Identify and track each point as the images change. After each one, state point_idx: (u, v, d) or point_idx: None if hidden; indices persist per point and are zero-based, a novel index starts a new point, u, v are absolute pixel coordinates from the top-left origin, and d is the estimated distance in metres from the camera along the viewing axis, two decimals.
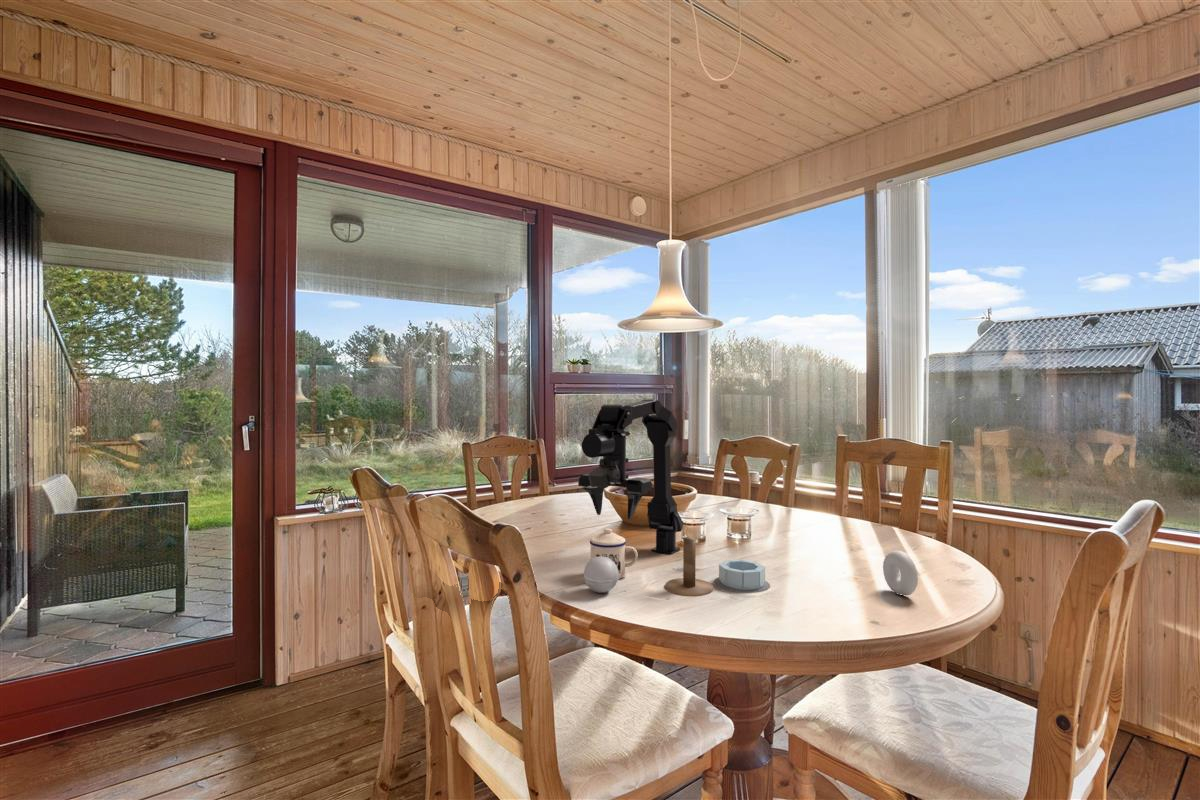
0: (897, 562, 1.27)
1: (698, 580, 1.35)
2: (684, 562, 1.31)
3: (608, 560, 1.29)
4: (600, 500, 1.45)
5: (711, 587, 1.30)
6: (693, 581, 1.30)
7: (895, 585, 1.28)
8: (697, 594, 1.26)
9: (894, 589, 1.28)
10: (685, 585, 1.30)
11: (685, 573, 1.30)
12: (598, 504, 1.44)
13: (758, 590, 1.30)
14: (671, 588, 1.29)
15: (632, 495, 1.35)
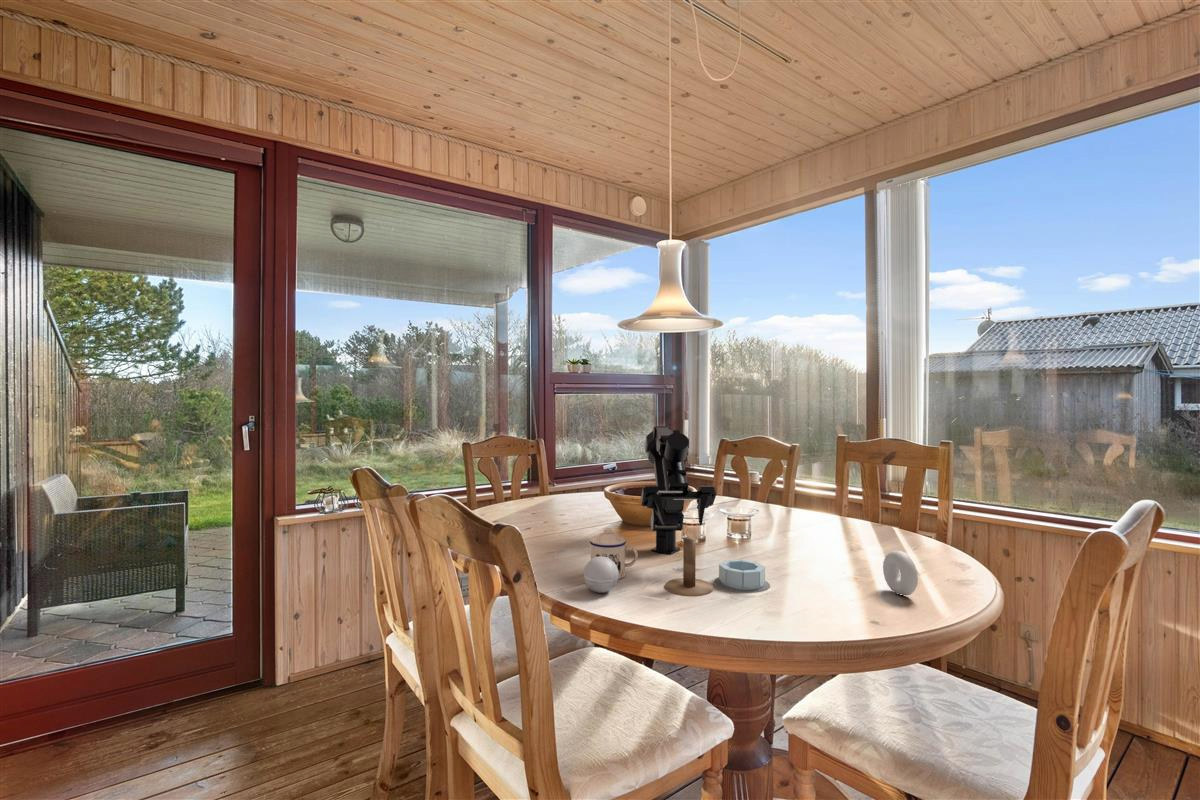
0: (897, 562, 1.27)
1: (698, 580, 1.35)
2: (684, 562, 1.31)
3: (608, 560, 1.29)
4: (699, 510, 1.42)
5: (711, 587, 1.30)
6: (693, 581, 1.30)
7: (895, 585, 1.28)
8: (697, 594, 1.26)
9: (894, 589, 1.28)
10: (685, 585, 1.30)
11: (685, 573, 1.30)
12: (698, 515, 1.42)
13: (758, 590, 1.30)
14: (671, 588, 1.29)
15: None
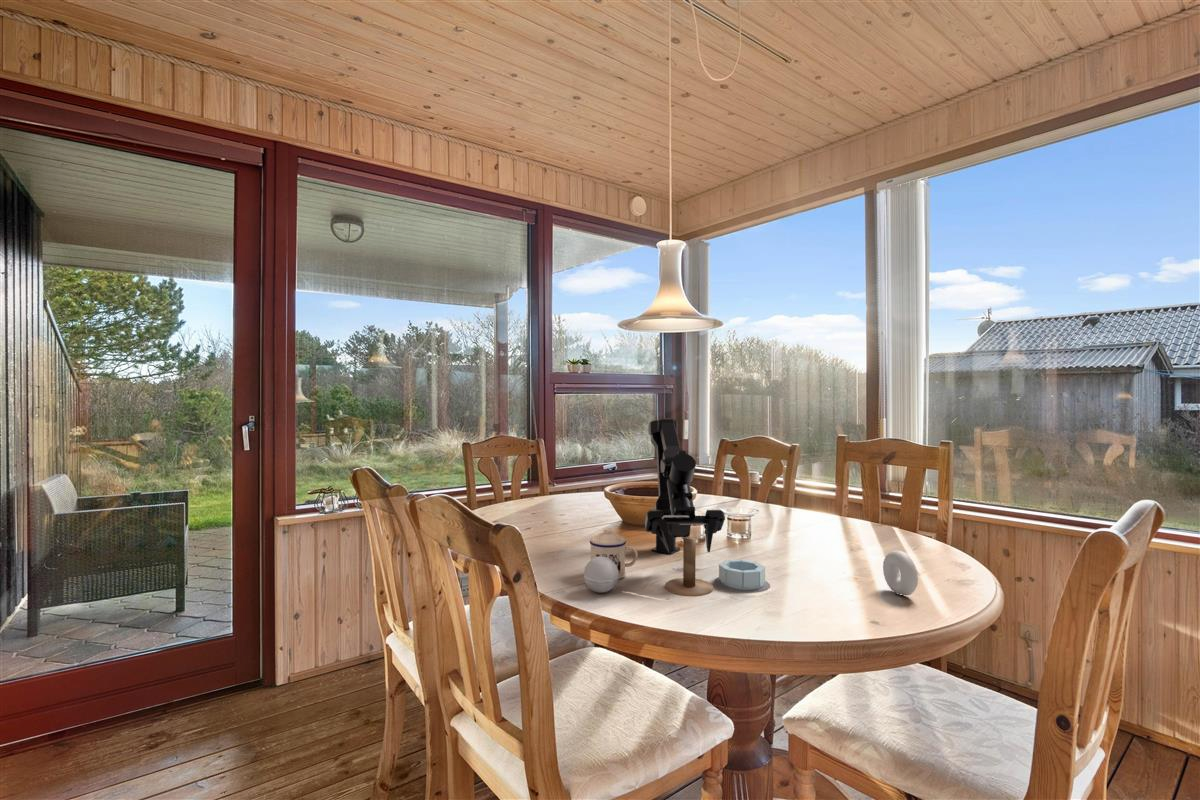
0: (897, 562, 1.27)
1: (698, 580, 1.35)
2: (684, 562, 1.31)
3: (608, 560, 1.29)
4: (707, 536, 1.33)
5: (711, 587, 1.30)
6: (693, 581, 1.30)
7: (895, 585, 1.28)
8: (697, 594, 1.26)
9: (894, 589, 1.28)
10: (685, 585, 1.30)
11: (685, 573, 1.30)
12: (706, 542, 1.34)
13: (758, 590, 1.30)
14: (671, 588, 1.29)
15: None
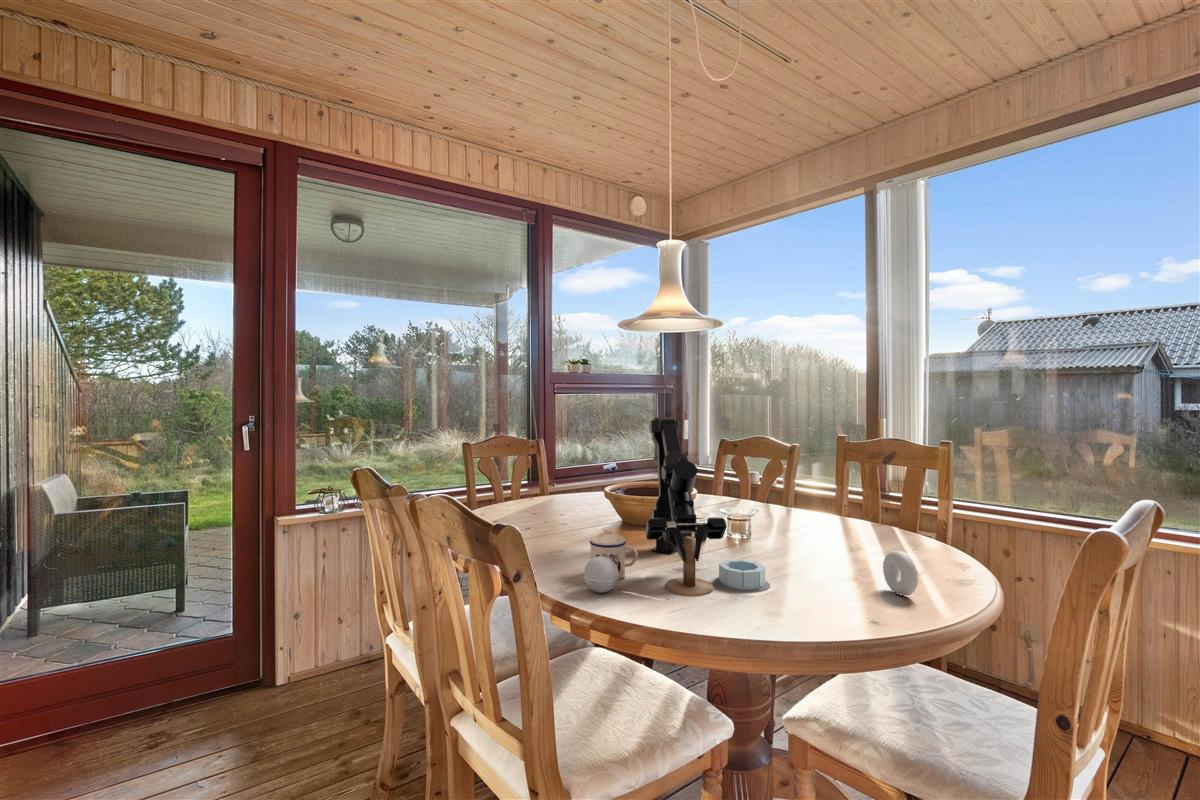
0: (897, 562, 1.27)
1: (698, 579, 1.35)
2: (684, 562, 1.31)
3: (608, 560, 1.29)
4: (696, 544, 1.32)
5: (711, 587, 1.30)
6: (693, 580, 1.30)
7: (895, 585, 1.28)
8: (697, 594, 1.26)
9: (894, 589, 1.28)
10: (685, 585, 1.30)
11: (685, 573, 1.30)
12: None
13: (758, 590, 1.30)
14: (671, 588, 1.29)
15: None
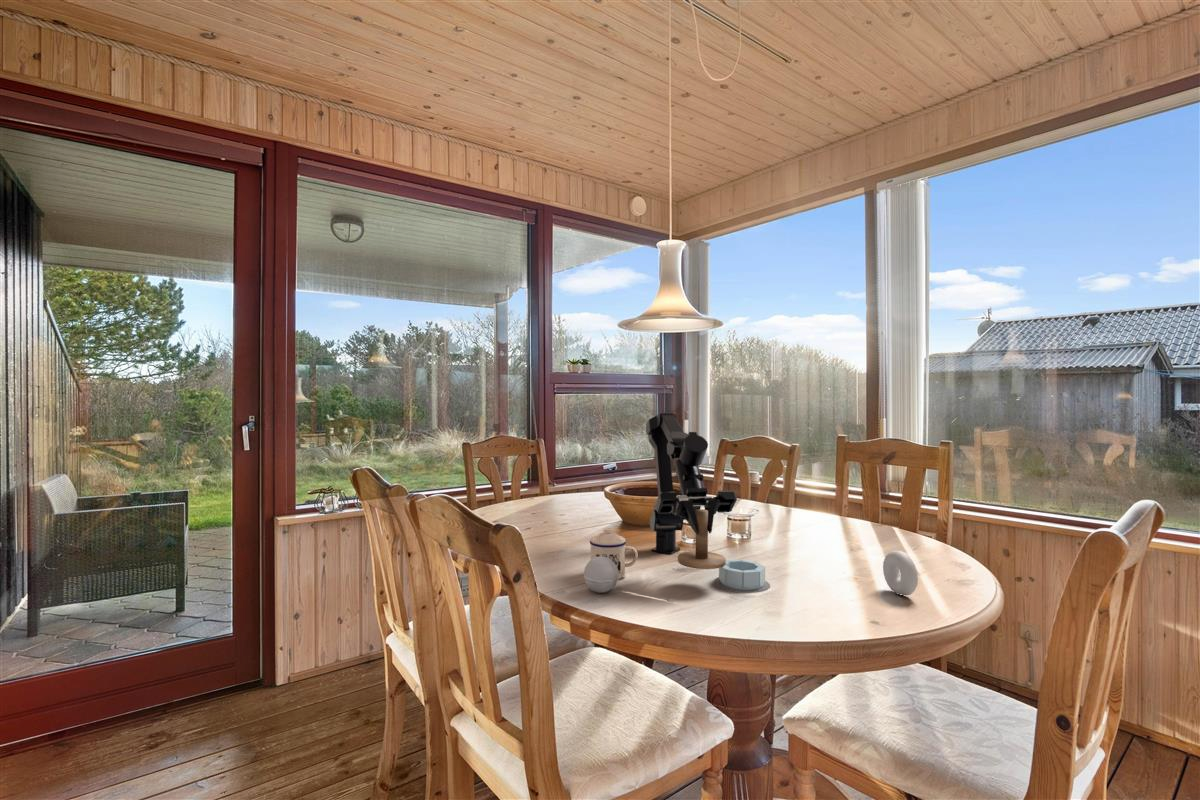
0: (897, 562, 1.27)
1: (708, 552, 1.36)
2: (697, 534, 1.31)
3: (608, 560, 1.29)
4: (708, 517, 1.32)
5: (723, 558, 1.31)
6: (706, 552, 1.31)
7: (895, 585, 1.28)
8: (712, 565, 1.26)
9: (894, 589, 1.28)
10: (698, 557, 1.31)
11: (698, 546, 1.31)
12: None
13: (758, 590, 1.30)
14: (685, 560, 1.29)
15: None
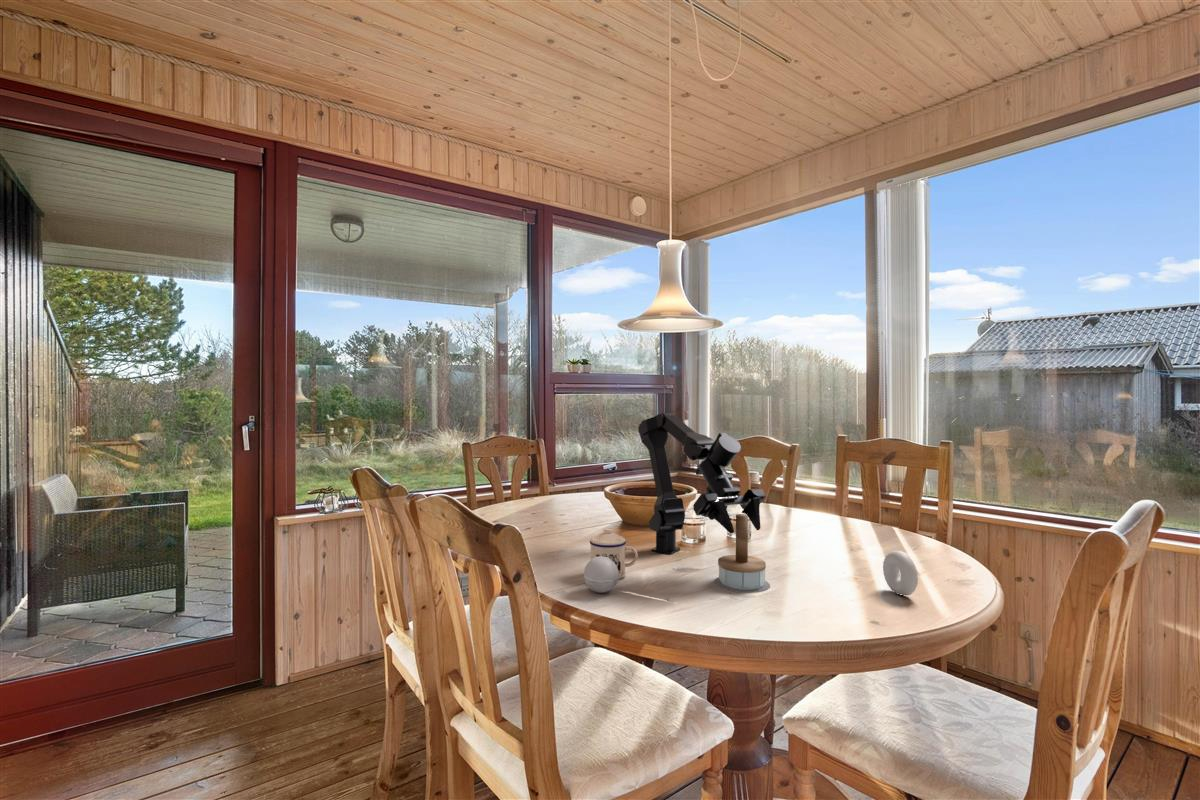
0: (897, 562, 1.27)
1: None
2: (738, 539, 1.34)
3: (608, 560, 1.29)
4: (753, 515, 1.37)
5: (761, 560, 1.35)
6: (747, 556, 1.34)
7: (895, 585, 1.28)
8: (759, 568, 1.30)
9: (894, 589, 1.28)
10: (740, 561, 1.34)
11: (740, 550, 1.33)
12: (753, 520, 1.37)
13: (758, 590, 1.30)
14: (731, 565, 1.31)
15: (708, 516, 1.36)
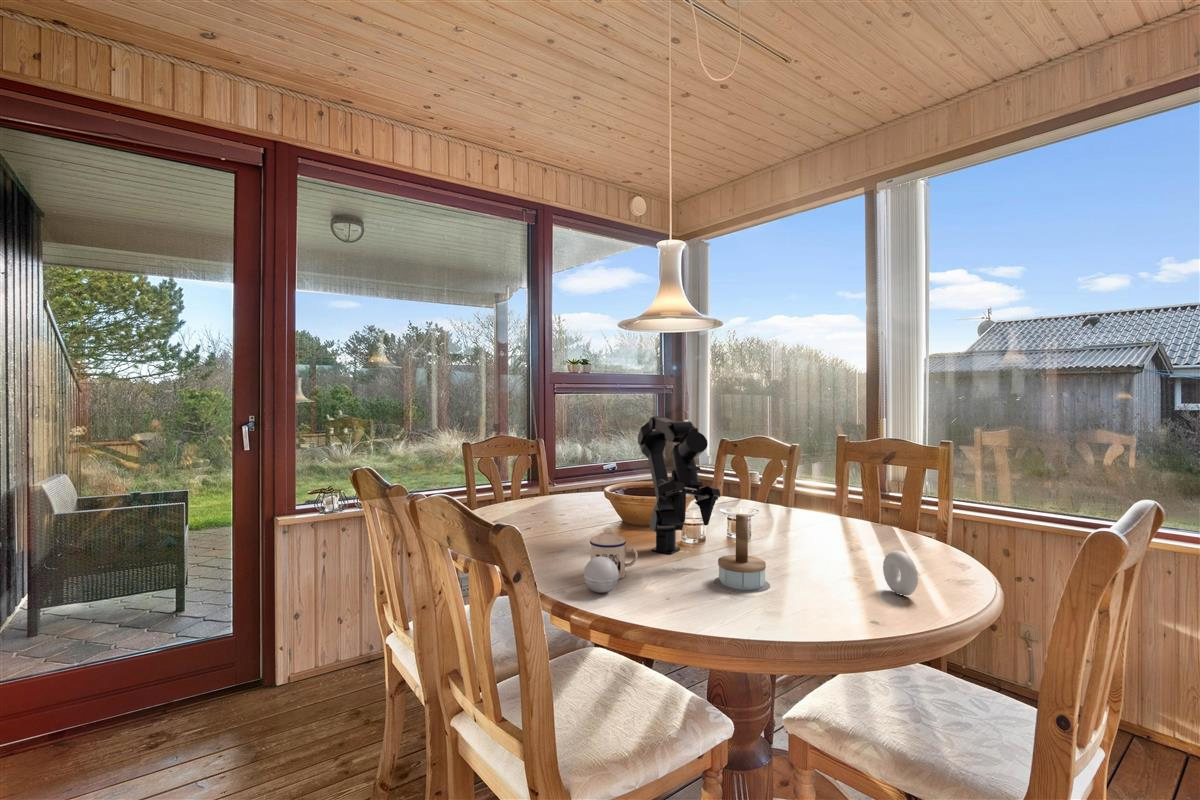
0: (897, 562, 1.27)
1: None
2: (738, 539, 1.34)
3: (608, 560, 1.29)
4: (706, 511, 1.48)
5: (761, 560, 1.35)
6: (747, 556, 1.34)
7: (895, 585, 1.28)
8: (759, 568, 1.30)
9: (894, 589, 1.28)
10: (740, 561, 1.34)
11: (740, 550, 1.33)
12: (703, 515, 1.48)
13: (758, 590, 1.30)
14: (731, 565, 1.31)
15: None
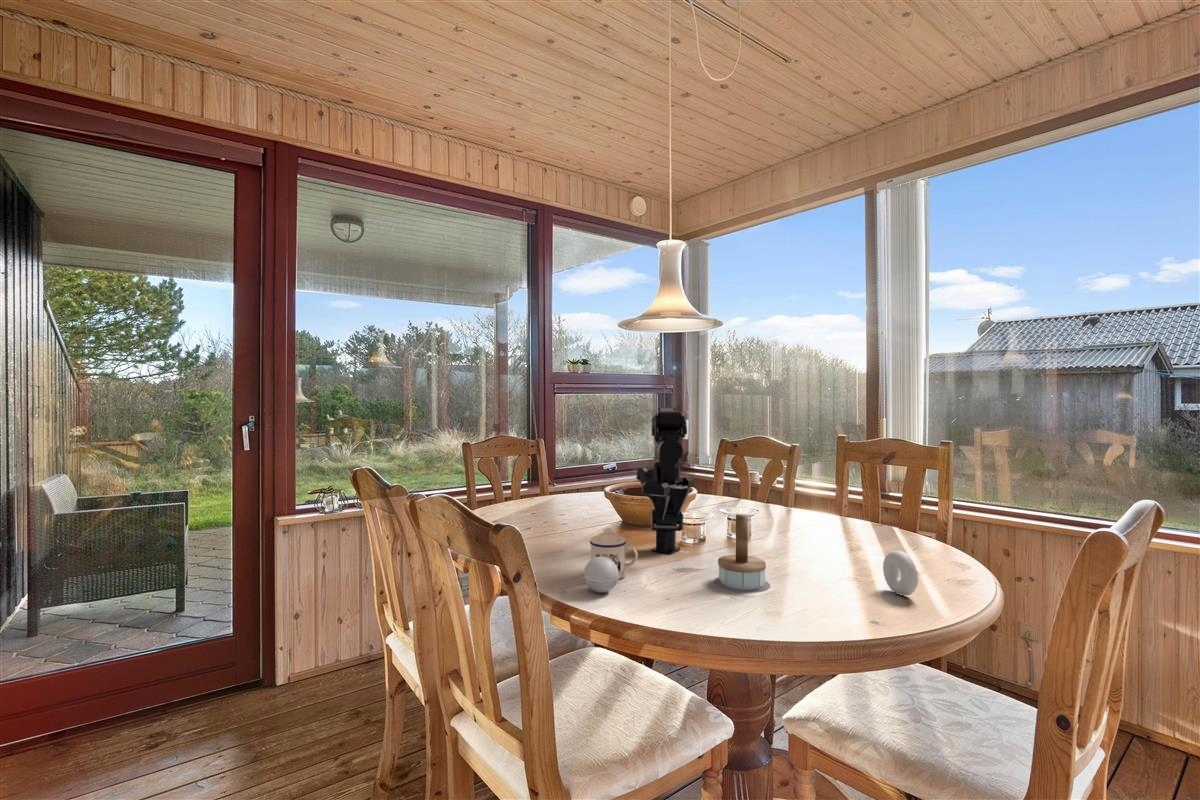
0: (897, 562, 1.27)
1: None
2: (738, 539, 1.34)
3: (608, 560, 1.29)
4: (679, 502, 1.52)
5: (761, 560, 1.35)
6: (747, 556, 1.34)
7: (895, 585, 1.28)
8: (759, 568, 1.30)
9: (894, 589, 1.28)
10: (740, 561, 1.34)
11: (740, 550, 1.33)
12: (675, 504, 1.53)
13: (758, 590, 1.30)
14: (731, 565, 1.31)
15: None
